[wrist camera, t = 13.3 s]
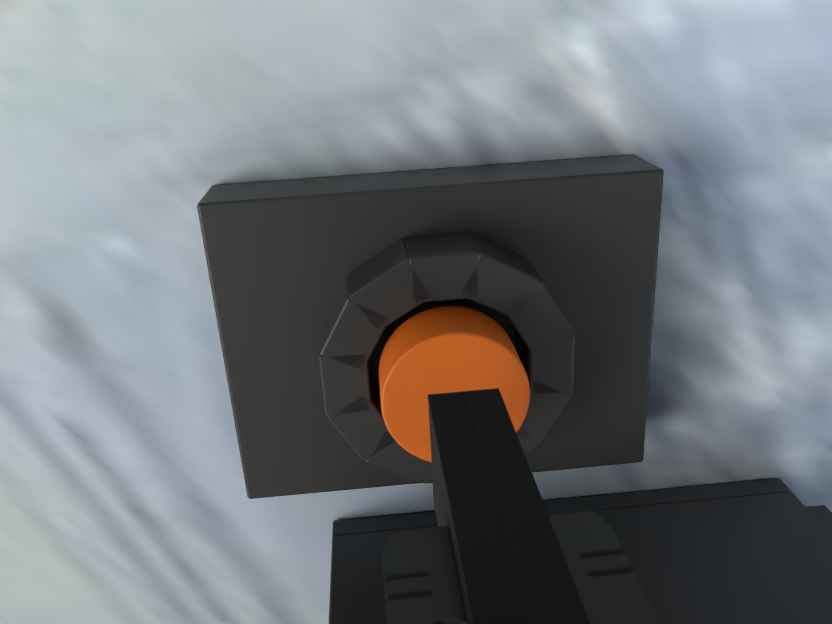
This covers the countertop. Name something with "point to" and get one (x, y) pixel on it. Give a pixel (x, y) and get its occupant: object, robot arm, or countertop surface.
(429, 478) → the control block
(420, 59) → the countertop surface
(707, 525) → the tilted charcoal box
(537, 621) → the robot arm
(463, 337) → the button
